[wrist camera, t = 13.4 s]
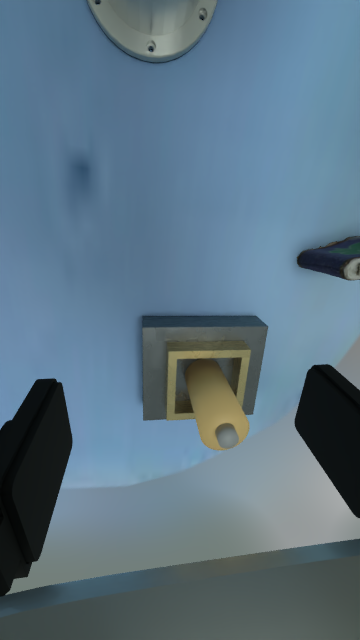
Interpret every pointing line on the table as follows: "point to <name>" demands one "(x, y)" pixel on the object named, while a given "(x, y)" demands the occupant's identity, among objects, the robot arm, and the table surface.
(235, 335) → the grey square socket base
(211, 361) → the cylinder
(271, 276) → the table surface
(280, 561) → the robot arm
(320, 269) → the wallet
